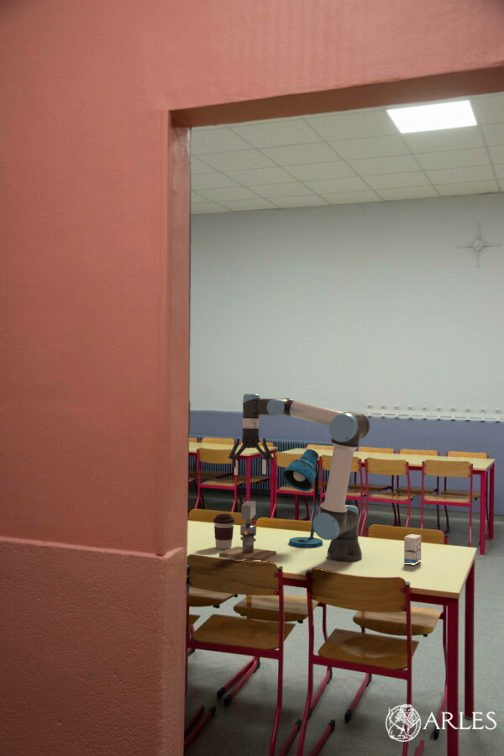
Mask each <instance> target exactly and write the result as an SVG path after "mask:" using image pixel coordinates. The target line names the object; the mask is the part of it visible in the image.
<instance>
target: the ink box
mask: <svg viewBox="0 0 504 756" xmlns="http://www.w3.org/2000/svg"><path fill="white" fill-rule="evenodd" d="M403 542H404V543H403V544H404V545H403V546H404V547H403V549H404V553H403V561H404V563H416V562H418V561H419V560H421V561H422V535H421V534H415V533H411V534H408V535H405V536H404V538H403ZM404 563H403V564H404Z"/></svg>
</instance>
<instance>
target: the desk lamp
mask: <svg viewBox="0 0 504 756" xmlns="http://www.w3.org/2000/svg"><path fill="white" fill-rule="evenodd" d="M319 458H320V457H319V453H318V452H317V451H316V450H314V449H312V448H307V449H306V450H305V451H304V452H303V454H302V455H301V456H300V457H299V458H298V459H292V461H291V462H290V463H289V465H288V466H287V467H285V468H284V470H283V471H282V473H281V475H282V478H283V479H284V481H285V482H286V483H287V484H288V485H289V486H291V487H292V488H294V489H296V490H298V491H301V492H302V491H303V492H309V491H311V490H312V489H313V486H314V496H313V497H314V499H313V510H312V519H311V527H310V534H309V535H310V536H298V537H297V536H296V537H295V536H294V537H292V538H290V539H289V541H288V544H289V546H291V545H292V546H291V547H296V548H303V549H304V548H305V549H313V548H320V547H322V546H323V545H324V541H323V539H322V538H318V537H315V535H314V534H315V531H314V528H313V520H314V518H315V517H316V515H317V512H318V511H317V510H318V501H319V500H318V499H319V498H318V497H319V471H318V468H317V466H316V464H317V462H318V460H319Z"/></svg>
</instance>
